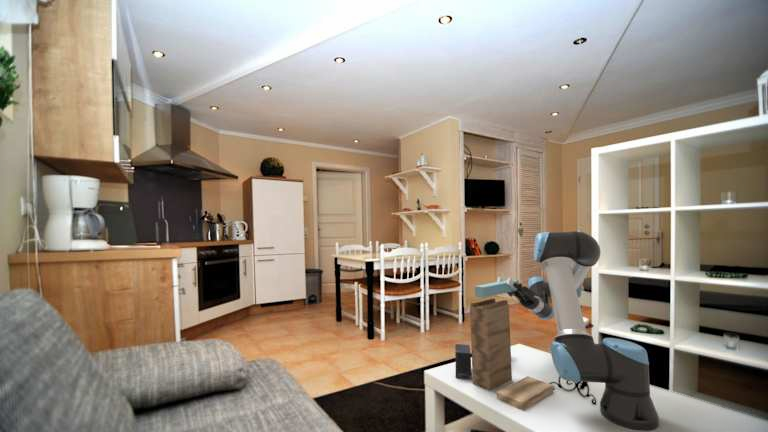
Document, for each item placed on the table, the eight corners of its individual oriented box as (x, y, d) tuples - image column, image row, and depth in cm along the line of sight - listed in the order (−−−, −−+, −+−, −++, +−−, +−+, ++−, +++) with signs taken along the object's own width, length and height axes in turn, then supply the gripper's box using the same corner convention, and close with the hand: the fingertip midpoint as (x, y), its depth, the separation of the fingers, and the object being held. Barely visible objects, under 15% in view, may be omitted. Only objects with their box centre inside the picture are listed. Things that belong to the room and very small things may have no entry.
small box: (472, 379, 138) (471, 352, 139) (455, 378, 140) (454, 352, 140) (470, 368, 149) (469, 344, 149) (455, 367, 150) (454, 343, 151)
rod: (519, 289, 146) (518, 280, 146) (483, 297, 131) (483, 287, 131) (510, 288, 149) (510, 279, 149) (475, 296, 134) (474, 286, 135)
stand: (511, 380, 136) (508, 300, 137) (490, 391, 128) (486, 306, 129) (494, 374, 142) (491, 297, 144) (472, 383, 134) (469, 302, 135)
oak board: (553, 392, 126) (552, 385, 126) (522, 410, 114) (522, 402, 114) (527, 382, 134) (527, 376, 134) (496, 398, 122) (496, 391, 122)
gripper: (548, 312, 146) (519, 291, 135) (512, 306, 160) (483, 286, 148) (551, 296, 149) (524, 273, 137) (516, 291, 162) (488, 270, 151)
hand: (503, 280), depth 143 cm, fingers closed on rod, 4 cm apart
